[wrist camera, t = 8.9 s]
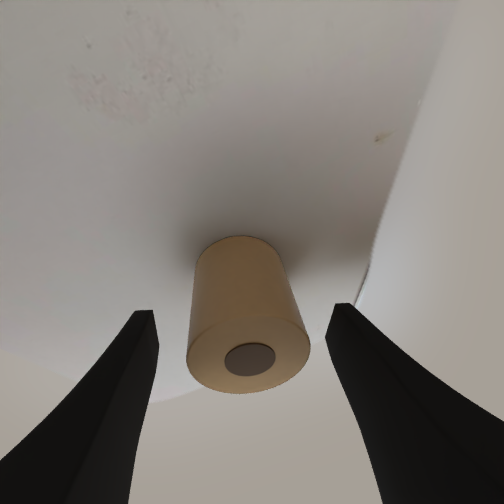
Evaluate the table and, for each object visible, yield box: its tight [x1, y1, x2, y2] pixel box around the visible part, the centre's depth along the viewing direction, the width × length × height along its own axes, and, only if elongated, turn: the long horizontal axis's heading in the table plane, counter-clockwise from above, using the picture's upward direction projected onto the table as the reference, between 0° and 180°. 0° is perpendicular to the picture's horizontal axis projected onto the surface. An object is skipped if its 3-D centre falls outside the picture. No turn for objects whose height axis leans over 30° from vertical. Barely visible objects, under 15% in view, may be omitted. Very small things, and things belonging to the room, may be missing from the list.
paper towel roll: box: [186, 236, 310, 394], centre depth 12 cm, size 4×4×5 cm
